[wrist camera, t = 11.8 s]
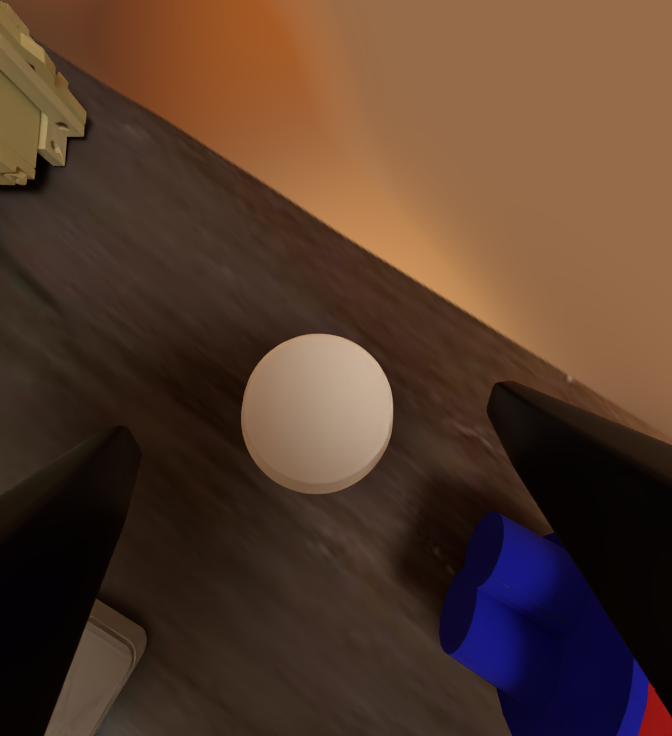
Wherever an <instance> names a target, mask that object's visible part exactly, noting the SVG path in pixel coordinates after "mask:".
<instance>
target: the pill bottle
mask: <svg viewBox="0 0 672 736" xmlns="http://www.w3.org/2000/svg"><path fill="white" fill-rule="evenodd" d="M392 425H393V400H392V393H391V389H390V385H389V383H388V380H387V378H386V375H385V374H384V372H383V370H382V368H381V367H380V365H379V364H378V363H377V361H376V360H375V359H374V358H373V357H372V356H371V355H370V354H369V353H368V352H367V351H366V350H364V349H363V348H362V347H360V346H359V345H357V344H355V343H353V342H352V341H349V340H347V339H345V338H342V337H339V336H334V335H328V334H308V335H302V336H298V337H295V338H293V339H290V340H288V341H285V342H283V343H281V344H280V345H278V346H276V347H275V348H274V349H273V350H271V351H270V352H269V353H268V354H266V355H265V356H264V357H263V359H262V360H261V361H260V362H259V363H258V364H257V366H256V367H255V369H254V371H253V372H252V374H251V376H250V378H249V380H248V383H247V386H246V389H245V393H244V397H243V404H242V412H241V426H242V432H243V437H244V440H245V444H246V446H247V449H248V451H249V453H250V455H251V457H252V458H253V460H254V461H255V463H256V464H257V466H258V467H259V468H260V469H261V470H262V471H263V472H264V473H265V474H266V475H267V476H268V477H269V478H271V479H272V480H273V481H275V482H276V483H278V484H280V485H282V486H284V487H286V488H288V489H291V490H293V491H297V492H301V493H307V494H327V493H332V492H336V491H339V490H342V489H345V488H347V487H349V486H351V485H353V484H355V483H356V482H358V481H359V480H361V479H362V478H363V477H364V476H366V475H367V474H368V473H369V472H370V471H371V470H372V469H373V468H374V466H375V465H376V464H377V463H378V461H379V460H380V459H381V457H382V455H383V453H384V452H385V450H386V448H387V445H388V443H389V440H390V437H391V432H392Z"/></svg>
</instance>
